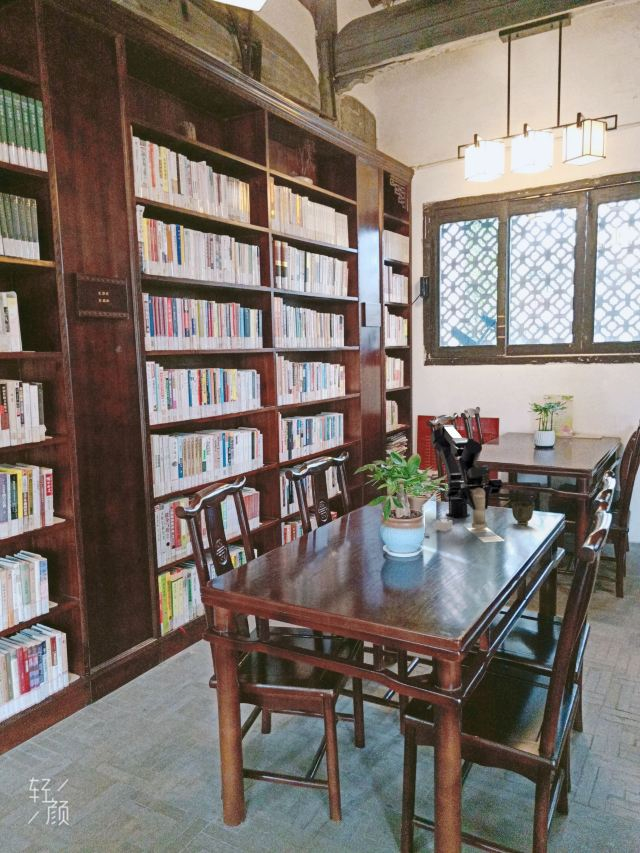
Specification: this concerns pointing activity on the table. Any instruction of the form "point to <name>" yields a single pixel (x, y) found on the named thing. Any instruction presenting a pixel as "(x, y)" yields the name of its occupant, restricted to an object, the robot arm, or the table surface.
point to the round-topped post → (479, 509)
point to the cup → (522, 512)
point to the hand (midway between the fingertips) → (480, 508)
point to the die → (444, 525)
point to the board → (483, 534)
